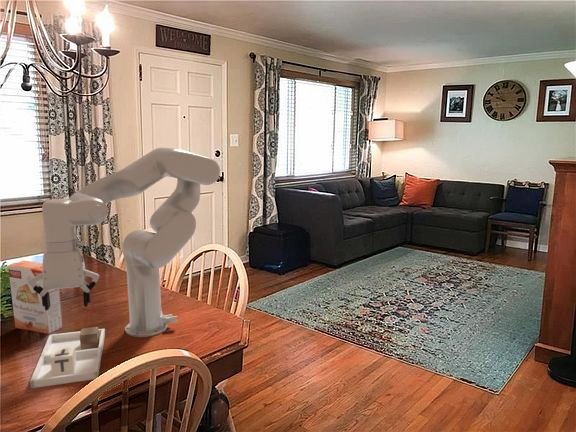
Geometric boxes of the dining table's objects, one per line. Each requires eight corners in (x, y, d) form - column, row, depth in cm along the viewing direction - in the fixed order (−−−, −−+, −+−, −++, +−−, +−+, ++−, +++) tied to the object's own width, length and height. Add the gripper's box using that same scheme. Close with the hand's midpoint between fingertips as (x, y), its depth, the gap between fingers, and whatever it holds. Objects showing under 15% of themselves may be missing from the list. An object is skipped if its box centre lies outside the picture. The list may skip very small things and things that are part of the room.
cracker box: (14, 329, 144) (6, 264, 140) (30, 321, 149) (24, 259, 145) (47, 336, 139) (41, 270, 135) (63, 328, 144) (57, 264, 140)
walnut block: (99, 341, 135) (98, 326, 134) (98, 348, 131) (96, 333, 130) (82, 343, 134) (81, 328, 133) (80, 350, 130) (79, 335, 129)
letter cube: (76, 364, 122) (74, 346, 121) (73, 373, 117) (72, 355, 116) (55, 366, 121) (53, 348, 120) (52, 376, 116) (50, 358, 115)
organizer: (105, 335, 140) (104, 328, 139) (98, 380, 115) (97, 372, 115) (50, 342, 135) (49, 334, 135) (30, 390, 111) (29, 381, 110)
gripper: (98, 240, 128) (102, 298, 132) (29, 244, 124) (35, 304, 127) (95, 247, 121) (99, 308, 124) (21, 251, 116) (28, 315, 120)
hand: (67, 306), depth 126 cm, fingers open, 9 cm apart
